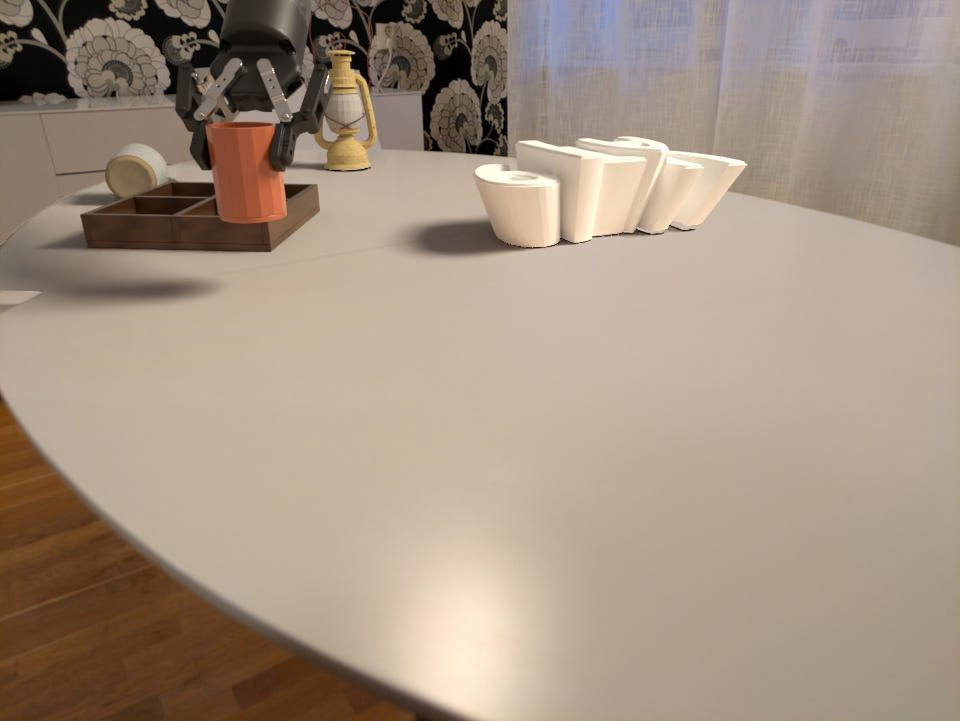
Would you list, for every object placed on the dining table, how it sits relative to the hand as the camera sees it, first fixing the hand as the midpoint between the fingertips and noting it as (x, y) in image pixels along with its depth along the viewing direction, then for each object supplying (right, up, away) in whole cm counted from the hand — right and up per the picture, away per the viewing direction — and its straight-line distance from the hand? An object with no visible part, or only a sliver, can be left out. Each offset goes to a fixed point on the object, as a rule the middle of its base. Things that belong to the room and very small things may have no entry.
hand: (239, 165), depth 59 cm
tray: (-13, 0, +28) cm, 31 cm away
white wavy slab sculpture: (+36, 0, +29) cm, 46 cm away
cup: (0, -4, +4) cm, 5 cm away
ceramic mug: (-29, +7, +44) cm, 53 cm away
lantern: (-5, +21, +73) cm, 76 cm away
